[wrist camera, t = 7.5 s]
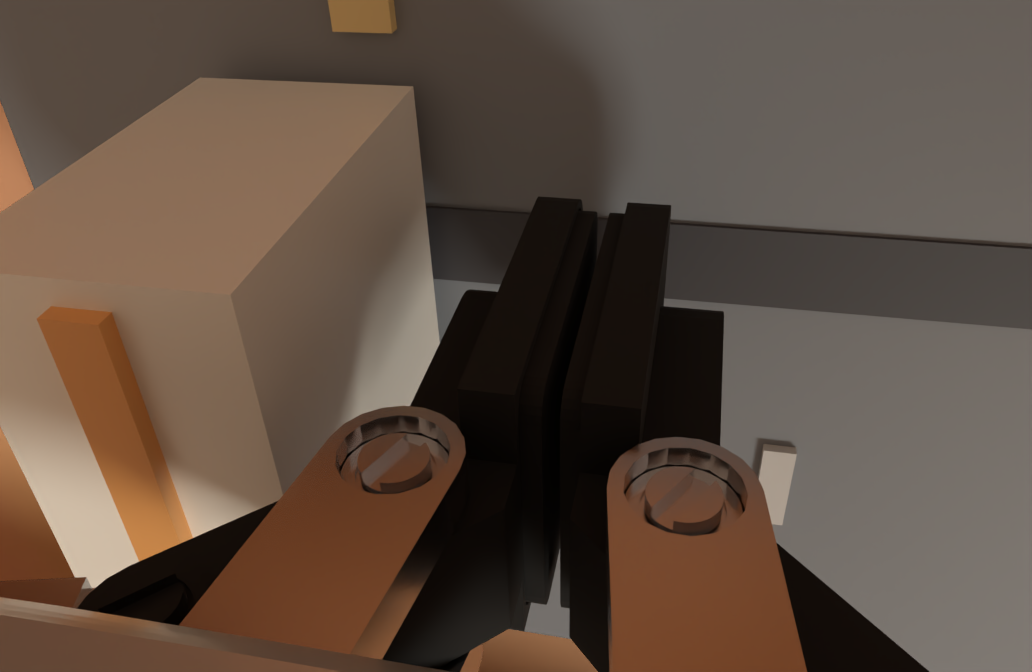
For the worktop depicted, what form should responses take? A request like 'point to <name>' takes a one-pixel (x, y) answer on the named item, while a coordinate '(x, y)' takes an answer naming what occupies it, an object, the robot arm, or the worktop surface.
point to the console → (704, 229)
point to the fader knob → (211, 308)
